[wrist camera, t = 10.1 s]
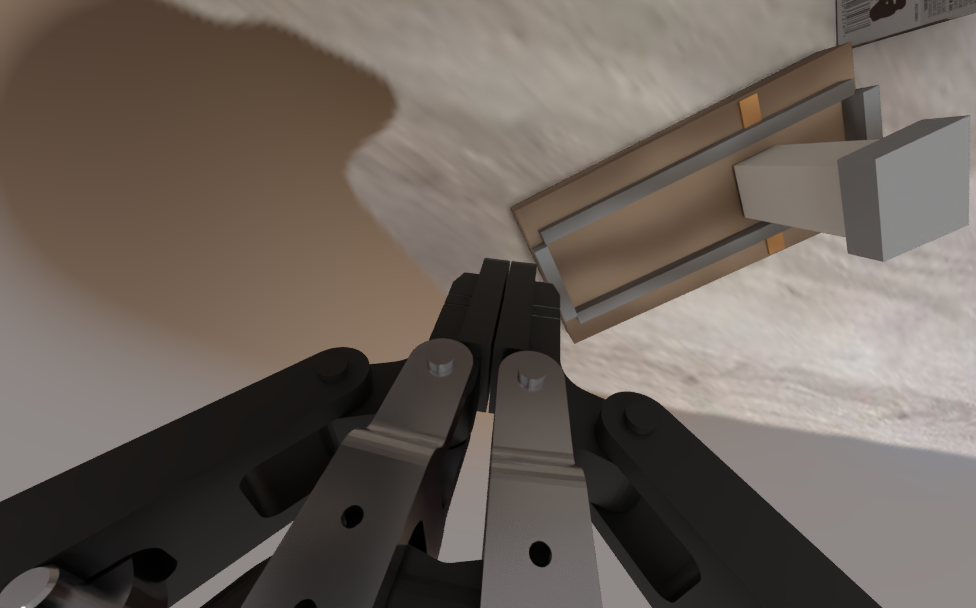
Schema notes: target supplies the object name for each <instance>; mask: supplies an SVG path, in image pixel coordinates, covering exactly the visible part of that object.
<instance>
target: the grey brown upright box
mask: <svg viewBox="0 0 976 608" xmlns="http://www.w3.org/2000/svg"><path fill="white" fill-rule="evenodd" d="M973 13H976V0H837V33H838V45H841V44H844V43H848V42H851V43H852V48H855V47H859V46H862V45H865V44H869V43H872V42H876V41H879V40H882V39H886V38H889V37H893V36H896V35H900V34H903V33H907V32H910V31H914V30H917V29H921V28H924V27H927V26H931V25H934V24H938V23H941V22H945V21H948V20H952V19H955V18H959V17H962V16H966V15H969V14H973Z"/></svg>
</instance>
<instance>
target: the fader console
mask: <svg viewBox="0 0 976 608" xmlns="http://www.w3.org/2000/svg"><path fill="white" fill-rule="evenodd" d="M882 138H883V134H882V119H881V105H880V91H879V85H876V86H870V87H865V88H860V89H856V87H855V76H854V65H853V54H852V43H851V42H848V43H844V44H841V45H838V46H835V47H832V48H829V49H825V50H822V51H819V52H816V53H814V54H812V55H810V56H808V57H806V58H804V59H802V60H801V61H799V62H797V63H795V64H793V65H791V66H789V67H787V68H785V69H783V70H781V71H779V72H777V73H775V74H773V75H771V76H769V77H767V78H765V79H763V80H761V81H759V82H757V83H755V84H753V85H751V86H749V87H747V88H745V89H743V90H741V91H739V92H737V93H735V94H733V95H731V96H729V97H728V98H726V99H724V100H722V101H720V102H718V103H716V104H714V105H712V106H710V107H708V108H706V109H704V110H702V111H700V112H698V113H696V114H694V115H692V116H690V117H688V118H686V119H684V120H682V121H680V122H678V123H676V124H674V125H672V126H670V127H668V128H666V129H664V130H662V131H660V132H658V133H656V134H654V135H653V136H651V137H649V138H647V139H645V140H643V141H641V142H639V143H637V144H635V145H633V146H631V147H629V148H627V149H625V150H623V151H621V152H619V153H617V154H615V155H613V156H611V157H609V158H607V159H605V160H603V161H601V162H599V163H597V164H595V165H593V166H591V167H589V168H587V169H585V170H583V171H581V172H580V173H578V174H576V175H574V176H572V177H570V178H568V179H566V180H564V181H562V182H560V183H558V184H556V185H554V186H552V187H550V188H548V189H546V190H544V191H542V192H540V193H538V194H536V195H534V196H532V197H530V198H528V199H526V200H524V201H522V202H520V203H518V204H516V205H514V206H512V207H511V209H512V211H513V214H514V216H515V218H516V220H517V222H518V225H519V227H520V229H521V231H522V233H523V236H524V238H525V240H526V242H527V244H528V247H529V249H530V251H531V253H532V255H533V258H534V260H535V262H536V264H537V266H538V269H539V271H540V273H541V275H542V277H543V280H544V282H545V283H552V284H553V285H554V286H555V288H556V289H557V291H558V292H559V294H560V317H561V319H562V322H563V324H564V326H565V328H566V330H567V332H568V334H569V335H570V337H571V339H572V340H573V342H574V344H575V343H577V342H579V341H582V340H584V339H586V338H588V337H590V336H593V335H595V334H597V333H599V332H602V331H604V330H606V329H608V328H610V327H613V326H615V325H617V324H619V323H621V322H624V321H626V320H628V319H630V318H633V317H635V316H637V315H639V314H641V313H644V312H646V311H648V310H650V309H653V308H655V307H657V306H659V305H661V304H664V303H666V302H668V301H670V300H672V299H675V298H677V297H679V296H681V295H684V294H686V293H688V292H690V291H692V290H695V289H697V288H699V287H701V286H704V285H706V284H708V283H710V282H712V281H715V280H717V279H719V278H721V277H723V276H726V275H728V274H730V273H732V272H735V271H737V270H739V269H741V268H743V267H746V266H748V265H750V264H752V263H755V262H757V261H759V260H761V259H763V258H766V257H768V256H770V255H772V254H774V253H777V252H779V251H781V250H783V249H786V248H788V247H790V246H792V245H794V244H797V243H799V242H801V241H803V240H806V239H808V238H810V237H812V236H814V235H817V234H819V233H821V232H816V231H811V230H806V229H801V228H796V227H791V226H786V225H781V224H775V223H770V222H765V221H760V220H755V219H750V218H745V215H744V211H743V206H742V202H741V197H740V192H739V188H738V183H737V179H736V174H735V169H734V165H736V164H738V163H740V162H742V161H744V160H746V159H748V158H751V157H753V156H755V155H757V154H759V153H761V152H763V151H765V150H767V149H769V148H771V147H773V146H775V145H789V144H806V143H823V142H840V141H858V140H875V139H882Z"/></svg>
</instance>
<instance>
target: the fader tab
mask: <svg viewBox="0 0 976 608" xmlns="http://www.w3.org/2000/svg"><path fill="white" fill-rule="evenodd" d="M969 165H970V115H967V116H957V117H946V118H936V119H925V120H920V121H918V122H916V123H914V124H912V125H910V126H907V127H905V128H903V129H901V130H899V131H897V132H895V133H893V134H890V135H888V136H886V137H884V138H882V139H875V140H858V141H840V142H823V143H806V144H789V145H775V146H773V147H771V148H769V149H767V150H765V151H763V152H761V153H759V154H757V155H755V156H753V157H751V158H748V159H746V160H744V161H742V162H740V163H738V164H736V165H734V169H735V174H736V179H737V183H738V188H739V192H740V197H741V202H742V206H743V211H744V215H745V218H750V219H755V220H760V221H765V222H770V223H775V224H781V225H786V226H791V227H796V228H801V229H806V230H811V231H816V232H822V233H827V234H832V235H837V236H842V237H846V242H847V251H848V254H852V255H857V256H861V257H865V258H869V259H874V260H878V261H882V262H884V261H887V260H889V259H891V258H893V257H896V256H898V255H900V254H903V253H905V252H907V251H910V250H912V249H914V248H917V247H919V246H921V245H923V244H926V243H928V242H930V241H933V240H935V239H937V238H940V237H942V236H944V235H947V234H949V233H951V232H953V231H956V230H958V229H960V228H963V227H965V226H967V225H969Z"/></svg>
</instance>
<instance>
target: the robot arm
mask: <svg viewBox="0 0 976 608" xmlns="http://www.w3.org/2000/svg"><path fill="white" fill-rule="evenodd" d="M509 267H510V261H507V260H498V259H490V258H485V259H484V261H483V264H482V268H481V271H480V274H473V273H463V274H462V275H461V276H460V277H458V278H457V279H456V280H455V281H454V282H453V284H452V286H451V289H450V291H449V295H448V296H447V298H446V301H445V305H443V308H442V310H441V313H440V315H439V317H438V320H437V322H436V325H435V327H434V329H433V332H432V334H431V336H430V339H429V341H426V342H424V343H422V344H420V345H419V346H417V347H416V348H415V349H414V350H413V351H412V353H411V354H410V356H409V358H407V359H405V360H401V361H396V362H388V363H378V364H369V361H368V358H367V357H366V356H365V355H364V354H363V353H362V352H360V351H359V350H356V349H353V348H348V347H338V348H332V349H328V350H325V351H322V352H320V353H318V354H315V355H313V356H312V357H309V358H307V359H305V360H303V361H300V362H298V363H296V364H294V365H292V366H290V367H288V368H286V369H283V370H282V371H279V372H277V373H275V374H273V375H271V376H269V377H266V378H264V379H262V380H260V381H258V382H256V383H254V384H251V385H249V386H247V387H245V388H243V389H241V390H239V391H236V392H234V393H232V394H230V395H228V396H226V397H223V398H222V399H219V400H217V401H215V402H213V403H211V404H209V405H206V406H204V407H202V408H200V409H198V410H196V411H194V412H191V413H189V414H187V415H185V416H183V417H181V418H179V419H177V420H174V421H172V422H170V423H168V424H166V425H164V426H161V427H159V428H157V429H155V430H153V431H151V432H149V433H147V434H144V435H142V436H140V437H138V438H136V439H134V440H131V441H129V442H127V443H125V444H123V445H121V446H119V447H117V448H114V449H112V450H110V451H108V452H106V453H104V454H102V455H100V456H97V457H95V458H93V459H91V460H89V461H87V462H85V463H82V464H80V465H78V466H76V467H74V468H72V469H69V470H67V471H65V472H63V473H61V474H59V475H57V476H55V477H53V478H50V479H48V480H46V481H44V482H42V483H40V484H37V485H35V486H33V487H31V488H29V489H27V490H25V491H23V492H20V493H18V494H16V495H14V496H12V497H10V498H8V499H5V500H3V501H1V502H0V608H169V607H171V606H172V605H173V604H175V603H176V602H178V601H179V600H180V599H182V598H183V597H185V596H186V595H188V594H189V593H191V592H192V591H193V590H195V589H196V588H198V587H199V586H201V585H202V584H203V583H205V582H206V581H208V580H209V579H211V578H212V577H214V576H215V575H216V574H218V573H219V572H221V571H222V570H224V569H225V568H226V567H228V566H229V565H231V564H232V563H234V562H235V561H236V560H238V559H239V558H241V557H242V556H243V555H245V554H246V553H248V552H249V551H251V550H252V549H254V548H255V547H256V546H258V545H259V544H261V543H262V542H263V541H265V540H266V539H268V538H269V537H271V536H272V535H273V534H275V533H276V532H278V531H279V530H281V529H282V528H284V527H285V526H286V525H288V524H289V523H291V522H292V521H294V522H293V523H292V525H291V527H290V528H289V530H288V531H287V533H286V535H285V536H284V538H283V539H282V541H281V543H280V544H279V546H278V548H277V549H276V551H275V552H274V554H273V555H272V556H271V557H269V558H267V559H266V560H264V561H262V562H261V563H259V564H257V565H256V566H254V567H253V568H252V569H250V570H249V571H247V572H246V573H245V574H243V575H242V576H241V577H239V578H238V579H237V580H235V581H234V582H233V583H232V584H230V585H229V586H228V587H226V588H225V589H224V590H222V591H221V592H220V593H218V594H217V595H216V596H214V597H213V598H212V599H211V600H209V601H208V602H207V603H205V604H204V605H203V606H202V607H200V608H603V607H602V600H601V592H600V585H599V577H598V569H597V562H596V554H595V546H594V539H593V531H592V523H593V525H594V526H595V527H596V529H597V530H598V532H599V533H600V535H601V536H602V537H603V539H604V540H605V542H606V543H607V544H608V546H609V547H610V549H611V550H612V551H613V553H614V554H615V556H616V557H617V559H618V560H619V561H620V563H621V564H622V566H623V567H624V568H625V569H626V571H627V573H628V574H629V576H630V577H631V578H632V580H633V581H634V583H635V584H636V585H637V587H638V588H639V590H640V591H641V592H642V594H643V595H644V597H645V598H646V600H647V601H648V602H649V604H650V605H651V607H652V608H882V607H881V606H879V604H877V602H875V601H874V600H873V599H872V598H871V597H870V596H869V595H868V594H867V593H866V592H865V591H863V590H862V589H861V588H860V587H859V586H858V585H857V584H856V583H855V582H853V580H851V579H850V578H849V577H848V576H847V575H846V574H845V573H844V572H843V571H842V570H841V569H839V568H838V567H837V566H836V565H835V564H834V563H833V562H832V561H831V560H830V559H828V557H826V556H825V555H824V554H823V553H822V552H821V551H820V550H819V549H818V548H817V547H816V546H814V545H813V544H812V543H811V542H810V541H809V540H808V539H807V538H806V537H805V536H803V535H802V534H801V533H800V532H799V531H798V530H797V529H796V528H795V527H794V526H793V525H792V524H791V523H789V522H788V521H787V520H786V519H785V518H784V517H783V516H782V515H781V514H780V513H778V512H777V511H776V510H775V509H774V508H773V507H772V506H771V505H770V504H769V503H768V502H767V501H765V500H764V499H763V498H762V497H761V496H760V495H759V494H758V493H757V492H756V491H754V490H753V489H752V488H751V487H750V486H749V485H748V484H747V483H746V482H745V481H744V480H743V479H741V478H740V477H739V476H738V475H737V474H736V473H735V472H734V471H733V470H732V469H730V467H728V466H727V465H726V464H725V463H724V462H723V461H722V460H721V459H720V458H719V457H718V456H716V455H715V454H714V453H713V452H712V451H711V450H710V449H709V448H708V447H707V446H705V445H704V444H703V443H702V442H701V441H700V440H699V439H698V438H697V437H696V436H695V435H694V434H692V433H691V432H690V431H689V430H688V429H687V428H686V427H685V426H684V425H683V424H682V423H681V422H679V421H678V420H677V419H676V418H675V417H674V416H673V415H672V414H671V413H670V412H669V411H667V410H666V409H665V408H664V407H663V406H662V405H661V404H659V403H658V402H657V401H655V400H653V399H652V398H650V397H648V396H645V395H642V394H639V393H635V392H619V393H615V394H613V395H611V396H609V397H608V398H607V399H606V400H605V399H603V398H601V397H598V396H596V395H594V394H591V393H589V392H587V391H585V390H583V389H581V388H579V387H578V386H576V385H575V384H574V383H573V382H571V381H570V379H569V378H568V377H567V376H566V375H565V373H564V371H563V369H562V367H561V363H560V294H559V292H558V291H557V289H556V288H555V286H554V285H553V284H552V283H544V282H536V281H535V277H536V267H537V264H531V263H523V262H515V261H512V262H511V267H510V272H509ZM490 389H491V390H490ZM489 394H490V402H489V413H494V422H493V432H492V443H491V454H490V467H489V478H488V490H487V491H488V492H487V503H486V515H485V526H484V538H483V549H482V560H475V561H465V562H456V563H444V562H441V561H438V560H437V559H438V556H439V552H440V548H441V544H442V539H443V533H444V527H445V522H446V517H447V514H448V510H449V507H450V504H451V500H452V497H453V494H454V490H455V487H456V484H457V481H458V477H459V474H460V471H461V468H462V464H463V461H464V458H465V454H466V451H467V448H468V445H469V442H470V437H471V432H472V429H473V426H474V421H475V416H476V412H477V411H480V412H486V409H487V404H488V399H489ZM591 522H592V523H591Z"/></svg>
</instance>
